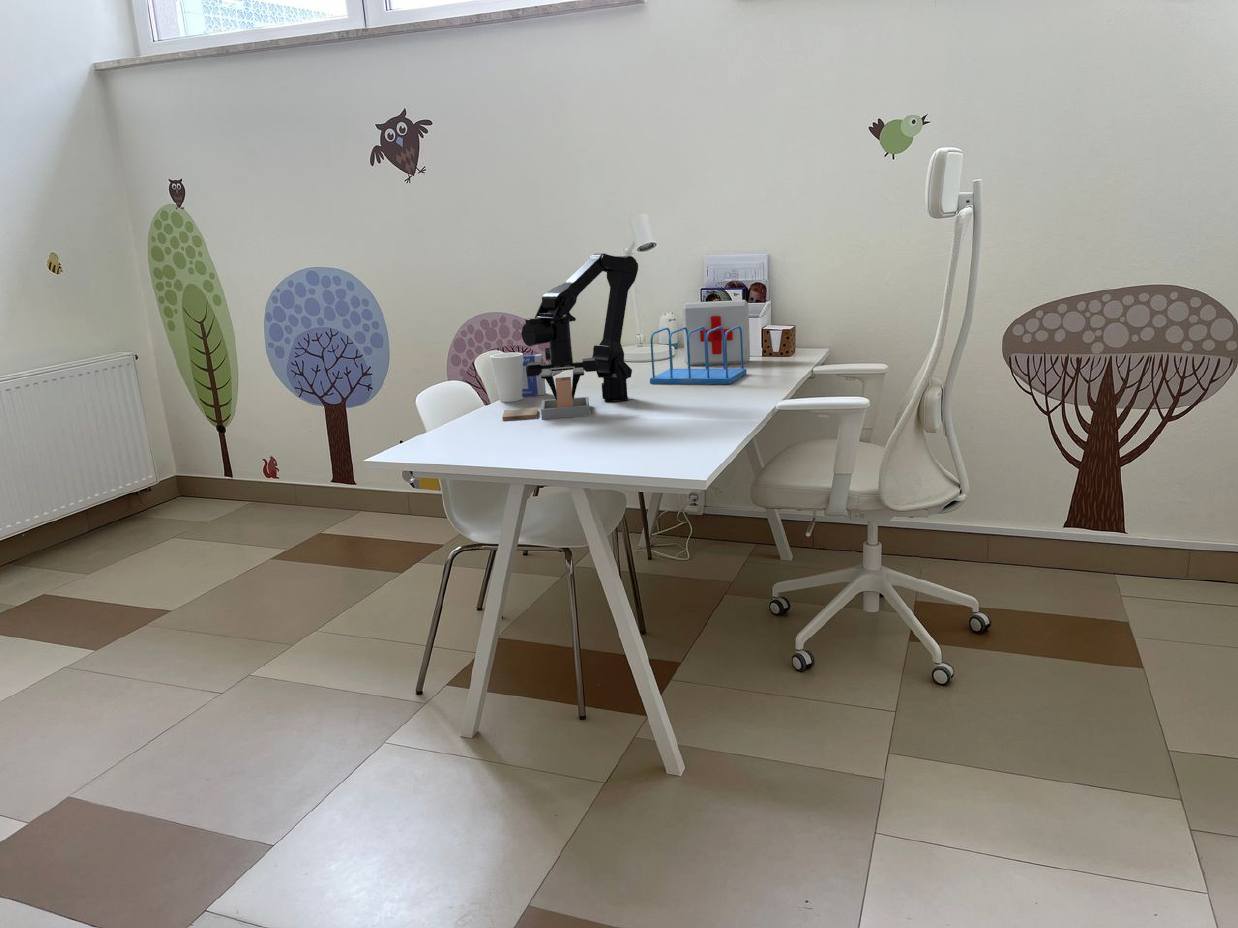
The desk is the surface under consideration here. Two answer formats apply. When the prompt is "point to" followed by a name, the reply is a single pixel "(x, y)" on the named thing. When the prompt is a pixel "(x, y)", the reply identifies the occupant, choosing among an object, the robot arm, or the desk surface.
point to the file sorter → (701, 374)
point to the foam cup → (508, 375)
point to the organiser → (565, 408)
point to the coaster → (520, 414)
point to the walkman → (532, 378)
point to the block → (564, 392)
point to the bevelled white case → (716, 331)
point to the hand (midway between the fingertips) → (564, 399)
